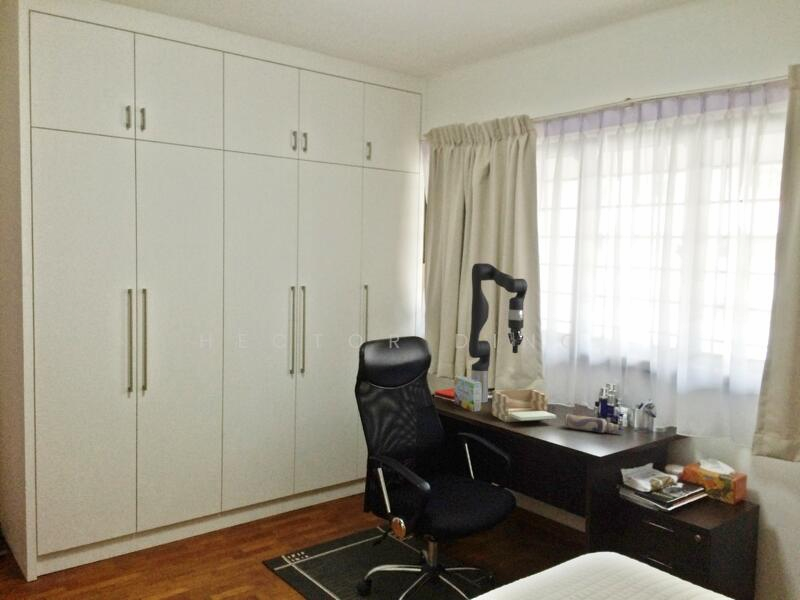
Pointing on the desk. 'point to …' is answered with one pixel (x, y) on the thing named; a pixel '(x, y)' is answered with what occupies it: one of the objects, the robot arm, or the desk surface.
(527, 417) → the white rectangular panel
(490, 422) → the desk surface
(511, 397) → the beige open box
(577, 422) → the decorative bottle
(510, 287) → the robot arm
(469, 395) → the snack box
